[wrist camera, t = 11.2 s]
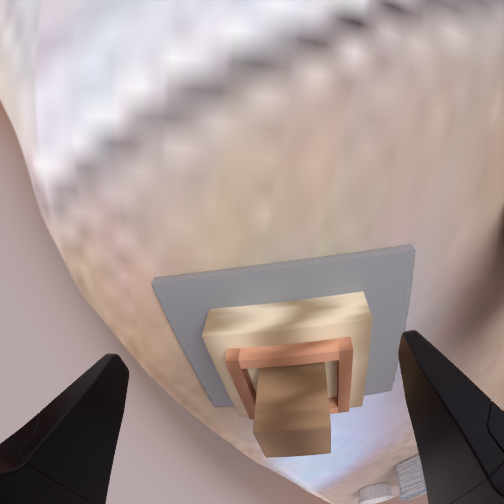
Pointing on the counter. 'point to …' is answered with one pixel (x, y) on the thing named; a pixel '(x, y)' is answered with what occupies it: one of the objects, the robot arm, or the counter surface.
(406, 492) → the medicine box
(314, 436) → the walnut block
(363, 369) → the socket plinth
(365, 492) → the ramekin
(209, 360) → the grey base plate
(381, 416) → the counter surface
